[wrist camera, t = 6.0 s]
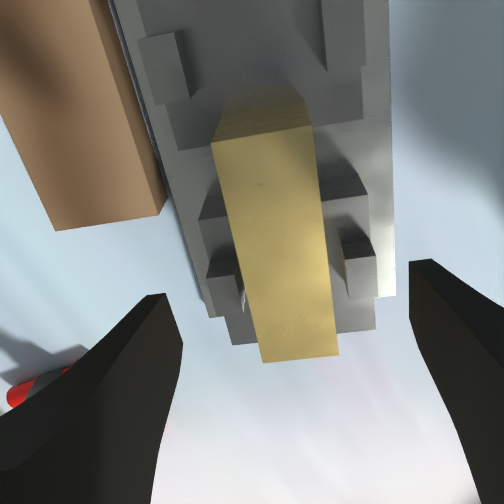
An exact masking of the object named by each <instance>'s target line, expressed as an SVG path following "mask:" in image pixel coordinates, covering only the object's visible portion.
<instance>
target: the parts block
mask: <svg viewBox="0 0 504 504" xmlns="http://www.w3.org/2000/svg"><path fill="white" fill-rule="evenodd" d="M0 114H1V116H2V119H3V121H4V123H5V125H6V127H7V129H8V131H9V133H10V136H11V138H12V140H13V142H14V144H15V146H16V148H17V151H18V153H19V155H20V157H21V159H22V161H23V163H24V165H25V168H26V170H27V172H28V174H29V176H30V178H31V180H32V183H33V185H34V187H35V189H36V191H37V193H38V195H39V197H40V200H41V202H42V204H43V206H44V208H45V210H46V212H47V215H48V217H49V219H50V221H51V223H52V225H53V227H54V229H55V231H61V230H67V229H74V228H80V227H87V226H93V225H99V224H106V223H112V222H119V221H125V220H131V219H138V218H144V217H151V216H157V215H159V213H160V211H161V210H162V208H163V206H164V204H165V202H166V200H167V198H168V196H167V193H166V190H165V186H164V183H163V180H162V177H161V173H160V170H159V167H158V164H157V160H156V157H155V154H154V151H153V147H152V144H151V141H150V138H149V134H148V131H147V128H146V125H145V121H144V118H143V115H142V112H141V108H140V105H139V102H138V99H137V95H136V92H135V89H134V86H133V82H132V79H131V76H130V73H129V69H128V66H127V63H126V60H125V56H124V53H123V50H122V47H121V43H120V40H119V37H118V34H117V30H116V27H115V24H114V21H113V17H112V14H111V11H110V8H109V4H108V1H107V0H0Z"/></svg>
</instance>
